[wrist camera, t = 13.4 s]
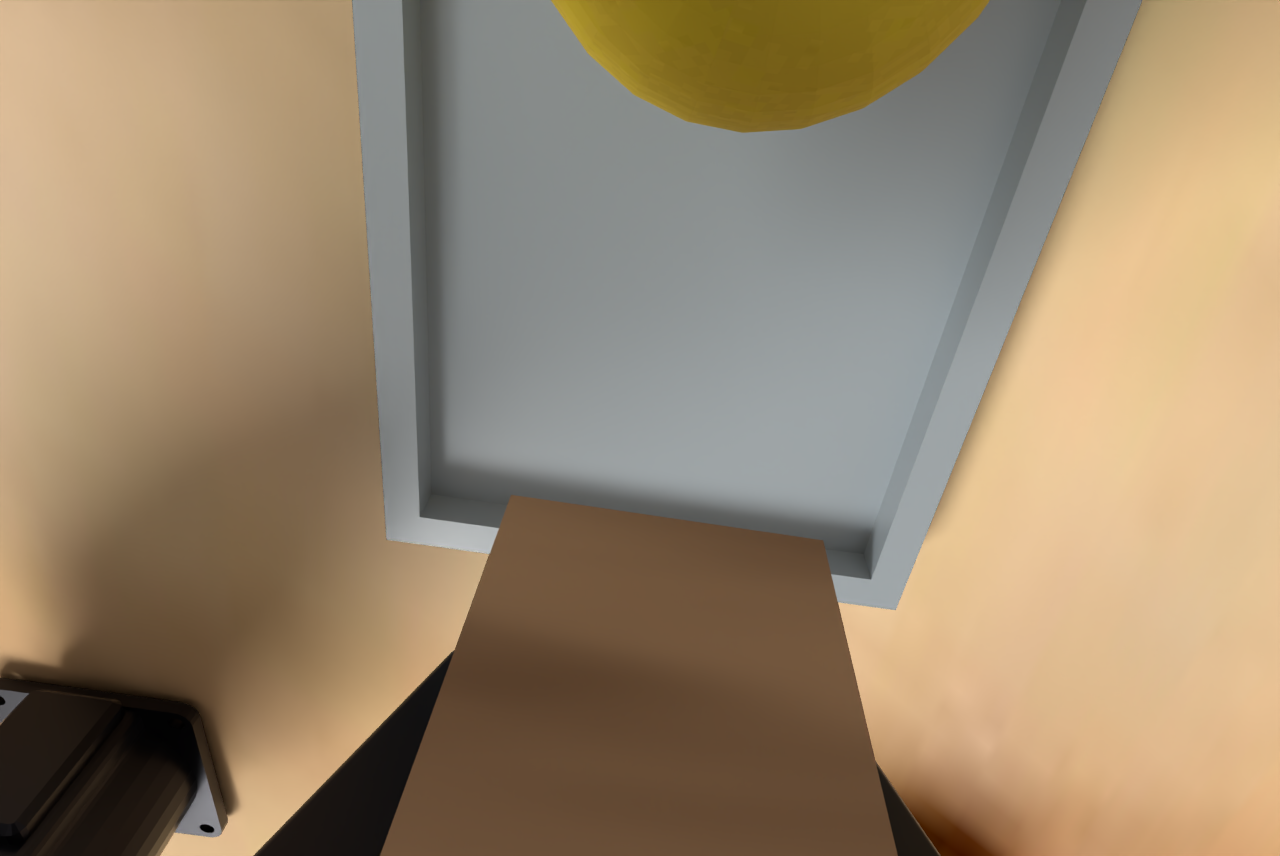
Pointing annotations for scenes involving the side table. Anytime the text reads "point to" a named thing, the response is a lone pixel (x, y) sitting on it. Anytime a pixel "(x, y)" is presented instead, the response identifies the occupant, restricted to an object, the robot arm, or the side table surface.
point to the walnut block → (646, 700)
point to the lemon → (765, 53)
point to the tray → (700, 277)
